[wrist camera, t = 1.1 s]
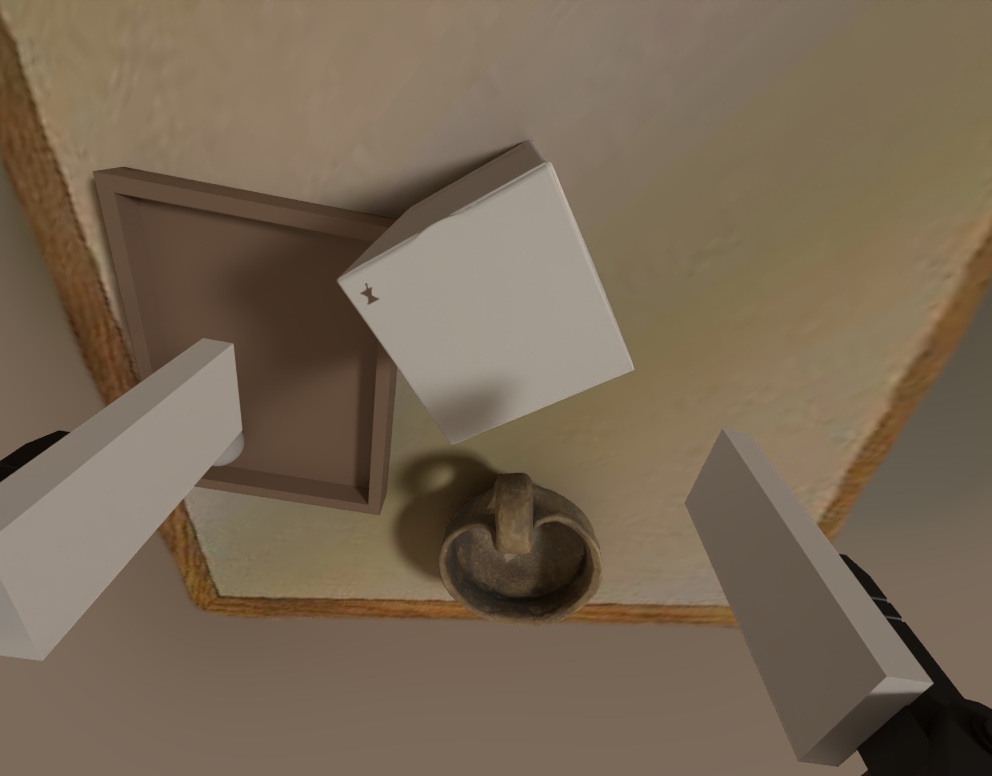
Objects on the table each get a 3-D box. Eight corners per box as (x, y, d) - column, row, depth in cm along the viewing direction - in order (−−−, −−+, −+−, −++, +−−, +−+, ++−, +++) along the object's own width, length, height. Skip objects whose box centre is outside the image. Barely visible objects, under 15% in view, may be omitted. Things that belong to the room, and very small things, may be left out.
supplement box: (472, 324, 34) (446, 454, 22) (405, 207, 31) (324, 279, 18) (591, 268, 32) (641, 376, 19) (534, 134, 28) (550, 154, 15)
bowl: (452, 571, 48) (438, 673, 39) (434, 428, 39) (410, 517, 31) (590, 572, 47) (607, 675, 39) (603, 426, 38) (628, 517, 30)
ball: (205, 408, 38) (177, 434, 35) (250, 415, 38) (227, 442, 35) (210, 443, 40) (184, 471, 37) (254, 450, 40) (232, 479, 37)
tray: (123, 166, 30) (92, 171, 28) (409, 221, 31) (401, 230, 29) (181, 462, 42) (163, 481, 40) (386, 494, 43) (379, 515, 41)
